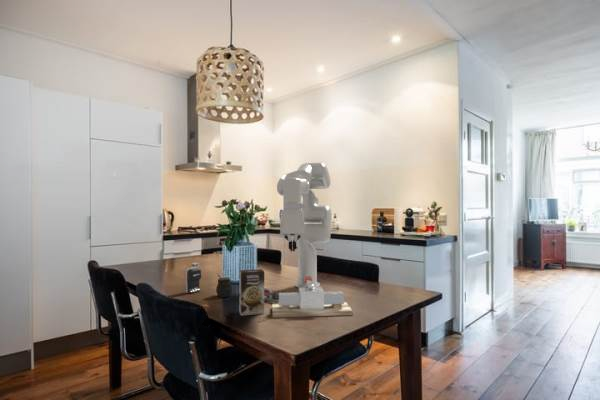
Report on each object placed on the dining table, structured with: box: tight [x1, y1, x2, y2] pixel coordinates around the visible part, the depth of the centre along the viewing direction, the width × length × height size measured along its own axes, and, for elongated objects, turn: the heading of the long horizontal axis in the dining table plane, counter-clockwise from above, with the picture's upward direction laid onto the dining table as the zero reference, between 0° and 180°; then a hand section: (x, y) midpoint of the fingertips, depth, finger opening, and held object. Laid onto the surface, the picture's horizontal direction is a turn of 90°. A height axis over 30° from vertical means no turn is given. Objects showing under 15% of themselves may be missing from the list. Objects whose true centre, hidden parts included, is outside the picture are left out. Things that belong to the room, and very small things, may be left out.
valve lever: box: [304, 276, 314, 289], centre depth 143 cm, size 16×3×2 cm, turn 5°
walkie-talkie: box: [264, 287, 279, 304], centre depth 155 cm, size 9×4×20 cm
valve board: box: [271, 301, 354, 319], centre depth 136 cm, size 12×30×3 cm, turn 95°
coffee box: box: [238, 268, 265, 316], centre depth 135 cm, size 9×6×16 cm
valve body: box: [278, 286, 345, 311], centre depth 136 cm, size 7×25×7 cm, turn 95°
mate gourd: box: [215, 273, 233, 298], centre depth 160 cm, size 7×8×10 cm
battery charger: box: [185, 267, 202, 294], centre depth 166 cm, size 7×4×11 cm, turn 145°
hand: (292, 250), depth 147 cm, fingers closed
